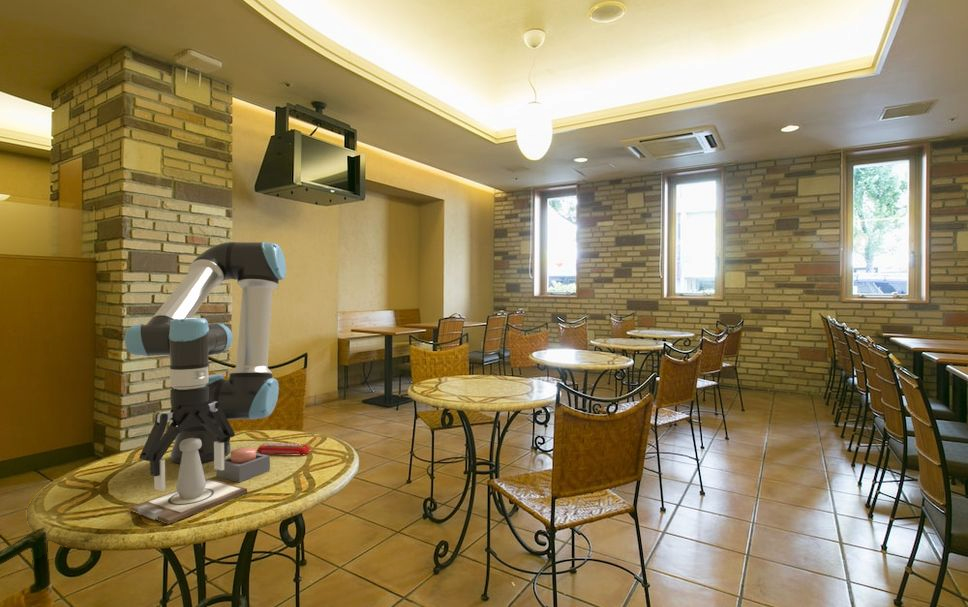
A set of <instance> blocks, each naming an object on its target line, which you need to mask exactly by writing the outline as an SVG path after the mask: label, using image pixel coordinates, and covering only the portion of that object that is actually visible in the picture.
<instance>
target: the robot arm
mask: <svg viewBox="0 0 968 607" xmlns="http://www.w3.org/2000/svg"><path fill="white" fill-rule="evenodd" d="M286 265H287V263H286V258H285V255H284V253H283V249H282V248H281V247H280V246H279V244H277V243H275V242H265V241H261V242H257V241H255V242H254V241H253V242H251V241H250V242H246V241H245V242H243V241H242V242H241V241H240V242H238V241H237V242H234V241H231V242H230V241H226V242H222V243H219V244H216V245H214V246H211V247H210V248H208V249H207V250H205V251H203V252H202V253H200V254H199V255H198V256H196V258H195V259H194V260H193V261H191V263H190V264H189V266H188V273H187V274H186V276H184V278H183V279H182V280H181V281H180V283H179V284H178V285H177V286H176V288H175V289H174V290H173V291H172V293H171V294H170V295H169V296H168V298H166V300H165V302H164V303H163V304H162V305H161V306H160V308H159V309H158V310H157V311H156V313H155V314H154V315H153V316H152V317H151V318H150V320H149V321H148V322H147V323H146V324H143V323H141V324H136V325H132V326H130V327H129V328H128V329H127V330H126V332H125V335H124V346H125V348H126V350H127V351H128V353H130V354H131V355H133V356H143V357H145V356H146V357H154V356H157V357H158V356H169V363H170V364H169V365H170V366H169V386H170V387H172V388H171V389H169V390H170V392H169V393H170V395H169V396H170V398H169V399H170V402H169V403H170V406H171V409H170V412H165V413H164V412H157V413H155V417H154V424H153V425H152V429H151V431H150V433H149V434H148V438H147V439H146V441H145V444H144V446H143V447H142V451H141V453H140V454H139V459H140V460H143V461H146V462H149V473H150V476H152V477H153V478H154V479H153V480H154V481H153V484H154V490H156V491H160V492H163V491H164V492H165V491H166V460H165V459H163V457H164V456H165V454H167V451H168V450H169V449H170V447H171V446H172V444H173V446H172V449H171V452H170V461H171V462H172V463H175V464H181V458H182V453H183V451H180V447H179V446H180V443H181V442H182V440H185V439H188V438H199V439H200V440H201V442H202V446H201V448H200V449H198V452H199V456H200V460H201V463H206V462H210V461H213V463H214V464H213V466H214V467H213V469H214V470H216V471H217V470H221V471H222V470H224V458H225V457H226V456H228V455H229V454H231V451H232V450H231V448H232V447H231V442H230V441H231V438H233V437H234V436H235V435H236V433H235V431H234V429H233V427H232V426H231V423H230V422H229V420H251V421H252V420H257V419H265V418H267V417H269V416H271V414H272V413H273V412H274V410H275V407H276V405H277V402H278V398H279V390H280V387H279V381H278V380H277V379H276V378H274V377H273V372H272V371H271V370H270V368H268V365H269V349H270V336H271V335H270V334H271V323H272V322H271V319H272V306H273V305H272V304H273V291H275V290H276V289H277V288H278V287H279V281H282V280H284V279H285V278H286V275H287V266H286ZM227 280H235V281H237V282H236V283H237V285H238V286H239V287H240V288H241V299H240V301H241V302H240V313H239V314H240V315H239V323H238V324H239V326H238V338H237V349H236V351H237V352H236V363H235V367H234V368H233V370H231V371H230V372H229V378H228V379H225V377H224V375H223V374H221V373H219V374H217V373H216V374H215V373H214V374H210V373H209V369H210V368H209V363H210V362H209V356H211V355H218V354H221V353H222V352H225V351H226V350H228V349H229V348H230V346H231V345H232V344H233V340H234V339H233V337H234V336H233V333H232V330H231V329H230V328H229V327H228V326H227V325H224V324H222V323H216V322H215V323H212V322H210V323H209V322H208V320H207V319H206V318H204V317H194V316H195V315H196V313H197V312H198V310H200V308H201V306H202V304H203V303H204V302H205V301H206V299H207V297H208V296H209V295H210V293H211V292H212V290H213V289H214V288H216V287H218V286H220V285H221V284H222V283H223V282H224V281H227ZM170 421H171V422H170ZM169 422H170V424H169V425H168V423H169ZM167 425H168V427H167ZM166 428H167V430H166ZM164 432H165V433H164ZM163 434H164V435H163ZM173 442H174V443H173Z"/></svg>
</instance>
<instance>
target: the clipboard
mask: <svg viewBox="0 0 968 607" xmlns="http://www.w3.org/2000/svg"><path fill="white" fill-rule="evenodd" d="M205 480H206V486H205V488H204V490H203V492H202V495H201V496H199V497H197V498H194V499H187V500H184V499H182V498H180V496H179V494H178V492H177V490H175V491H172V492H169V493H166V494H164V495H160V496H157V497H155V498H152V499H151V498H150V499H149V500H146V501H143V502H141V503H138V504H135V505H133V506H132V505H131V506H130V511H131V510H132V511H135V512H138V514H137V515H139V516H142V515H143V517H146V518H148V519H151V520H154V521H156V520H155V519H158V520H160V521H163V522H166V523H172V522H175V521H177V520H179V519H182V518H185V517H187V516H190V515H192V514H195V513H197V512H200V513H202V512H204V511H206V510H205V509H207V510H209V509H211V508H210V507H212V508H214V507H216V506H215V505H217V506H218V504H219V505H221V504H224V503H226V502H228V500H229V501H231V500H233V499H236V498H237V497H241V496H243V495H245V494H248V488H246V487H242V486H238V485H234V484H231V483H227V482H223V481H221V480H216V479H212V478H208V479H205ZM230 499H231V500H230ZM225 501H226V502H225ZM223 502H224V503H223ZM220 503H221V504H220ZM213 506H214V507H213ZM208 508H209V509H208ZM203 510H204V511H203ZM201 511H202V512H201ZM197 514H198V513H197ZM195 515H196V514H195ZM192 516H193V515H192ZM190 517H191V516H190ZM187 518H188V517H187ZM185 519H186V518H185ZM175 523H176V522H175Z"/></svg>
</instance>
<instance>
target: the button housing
mask: <svg viewBox="0 0 968 607" xmlns="http://www.w3.org/2000/svg"><path fill="white" fill-rule="evenodd" d="M270 462H271V456H270V455H269V454H260V453H259V452H258V453H257V452H256V459H254V460H251V461H249V462H246V463H243V464H237V463H233V462H231V456H228V457H224V470H222V471H221V470H217V469H216V477H217V476H218V477H219V478H221V477H222V479H226V480H229V481H230V480H231V481H233V482H238V483H242V482H244V481H247V480H249V479H252V478H255V477H257V476H260V475H262V473H263V474H265V473H267V471H268V472H270V471H271V463H270ZM269 470H270V471H269ZM264 472H265V473H264ZM259 474H260V475H259Z"/></svg>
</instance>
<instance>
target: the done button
mask: <svg viewBox="0 0 968 607" xmlns="http://www.w3.org/2000/svg"><path fill="white" fill-rule="evenodd" d="M256 451H257V449H256V448H255V447H252V446H247V447H240V448H236V449H234V450H231V451H230V457H231V462H233V463H237V464H243V463H246V462H249V461H251V460H254V459H256V453H257V452H256Z"/></svg>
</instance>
